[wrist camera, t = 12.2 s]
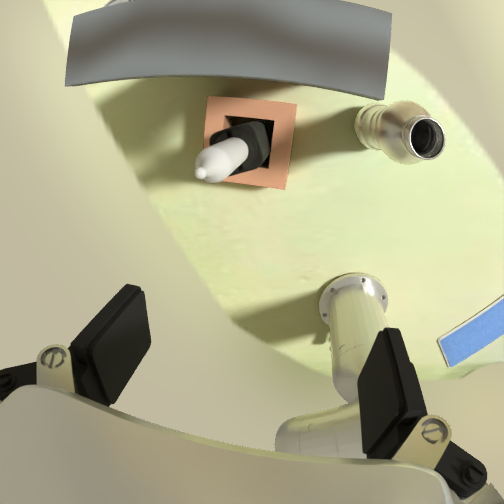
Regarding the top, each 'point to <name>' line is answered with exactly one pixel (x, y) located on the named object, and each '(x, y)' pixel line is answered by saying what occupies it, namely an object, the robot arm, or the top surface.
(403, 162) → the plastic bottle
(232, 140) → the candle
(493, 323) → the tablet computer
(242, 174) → the socket block
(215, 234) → the top surface
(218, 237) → the top surface
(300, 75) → the brown board grey top
